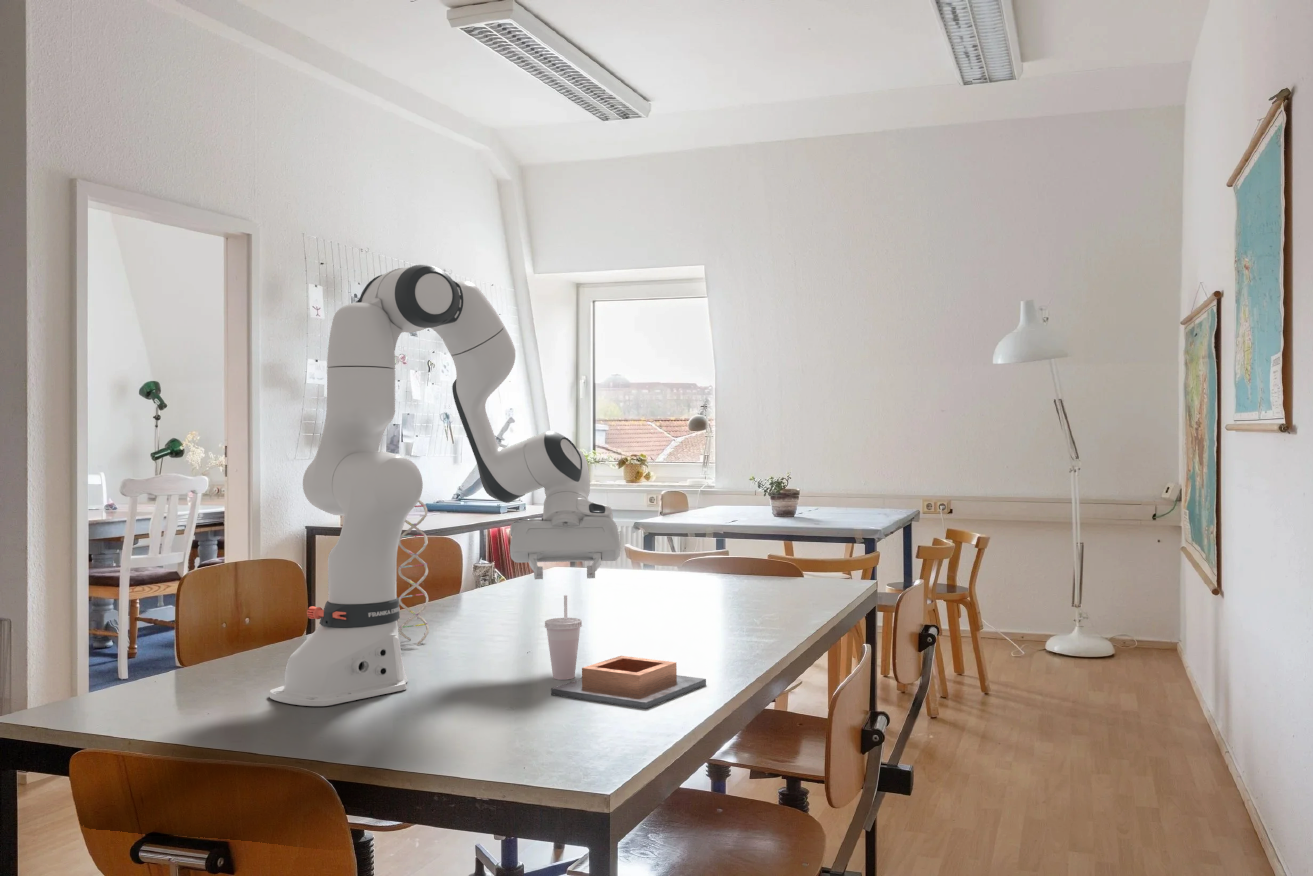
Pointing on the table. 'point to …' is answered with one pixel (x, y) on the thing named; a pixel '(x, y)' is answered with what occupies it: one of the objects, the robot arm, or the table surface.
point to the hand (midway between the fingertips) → (564, 577)
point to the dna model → (410, 580)
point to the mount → (629, 682)
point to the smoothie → (563, 644)
